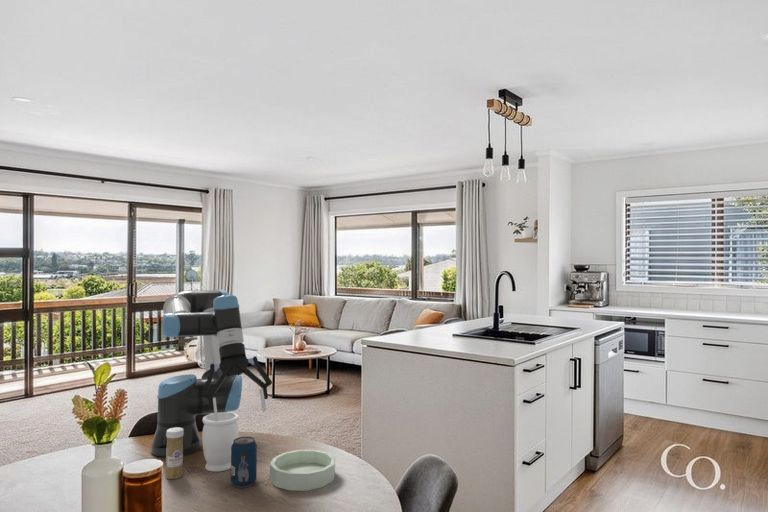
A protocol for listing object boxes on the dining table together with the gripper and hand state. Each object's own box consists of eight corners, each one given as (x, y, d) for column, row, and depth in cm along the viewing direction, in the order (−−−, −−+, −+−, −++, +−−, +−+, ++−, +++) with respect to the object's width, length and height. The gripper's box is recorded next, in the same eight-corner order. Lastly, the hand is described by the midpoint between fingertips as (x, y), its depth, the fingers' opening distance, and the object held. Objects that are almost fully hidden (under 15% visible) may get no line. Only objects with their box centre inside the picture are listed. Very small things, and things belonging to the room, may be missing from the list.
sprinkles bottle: (171, 481, 145) (172, 432, 145) (162, 477, 148) (163, 429, 148) (186, 475, 149) (186, 428, 149) (177, 471, 151) (177, 425, 151)
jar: (226, 475, 149) (227, 423, 150) (194, 472, 151) (195, 420, 152) (244, 461, 160) (244, 412, 160) (213, 458, 162) (214, 410, 162)
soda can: (248, 476, 149) (248, 434, 149) (261, 483, 144) (261, 440, 144) (225, 483, 144) (226, 439, 144) (238, 490, 139) (239, 446, 139)
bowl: (262, 471, 152) (262, 456, 152) (319, 460, 161) (319, 446, 161) (283, 495, 136) (283, 478, 137) (345, 482, 146) (345, 465, 146)
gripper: (187, 349, 150) (195, 424, 144) (273, 335, 159) (285, 405, 153) (188, 354, 157) (196, 426, 150) (271, 341, 166) (282, 408, 159)
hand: (241, 416), depth 152 cm, fingers open, 13 cm apart
